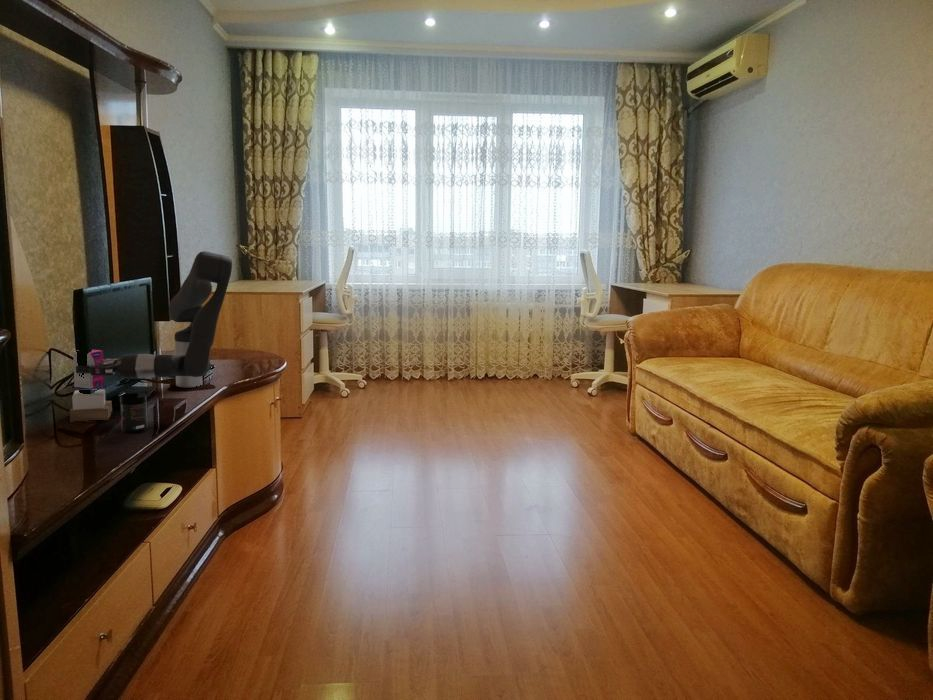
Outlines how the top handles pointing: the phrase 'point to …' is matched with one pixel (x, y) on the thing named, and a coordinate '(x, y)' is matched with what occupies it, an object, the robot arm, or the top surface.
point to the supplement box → (89, 380)
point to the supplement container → (133, 412)
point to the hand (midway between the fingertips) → (81, 366)
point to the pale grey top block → (88, 400)
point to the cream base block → (92, 413)
